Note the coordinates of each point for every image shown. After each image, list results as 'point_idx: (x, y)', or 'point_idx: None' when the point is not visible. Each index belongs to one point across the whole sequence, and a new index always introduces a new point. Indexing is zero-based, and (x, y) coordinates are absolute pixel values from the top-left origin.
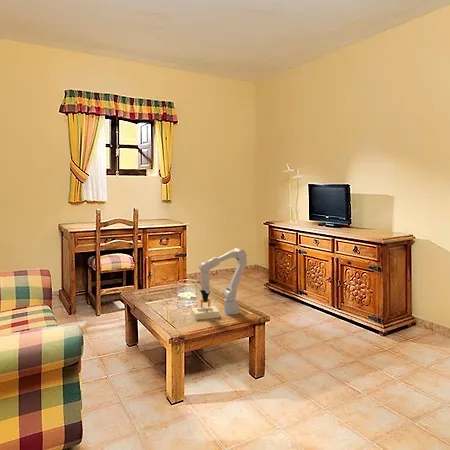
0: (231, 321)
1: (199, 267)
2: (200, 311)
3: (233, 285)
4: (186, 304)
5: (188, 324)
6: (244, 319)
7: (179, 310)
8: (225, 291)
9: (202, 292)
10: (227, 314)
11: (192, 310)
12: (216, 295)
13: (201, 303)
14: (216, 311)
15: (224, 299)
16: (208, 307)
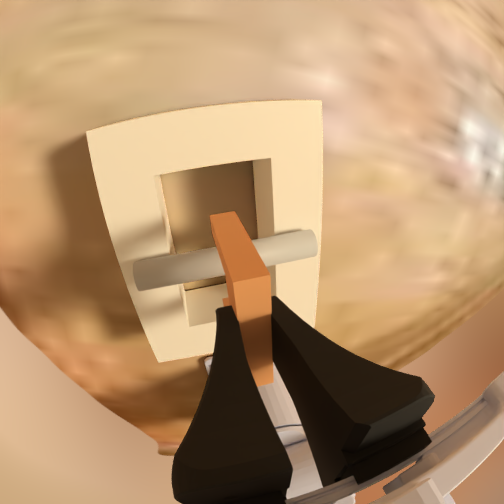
0: (89, 374)
1: None
2: (263, 191)
3: None
4: (478, 128)
5: (13, 73)
6: (130, 416)
7: (404, 37)
8: (315, 485)
9: (176, 484)
10: (206, 368)
11: (259, 101)
12: (487, 291)
13: (220, 253)
14: (155, 344)
15: (280, 433)
16: (290, 283)
